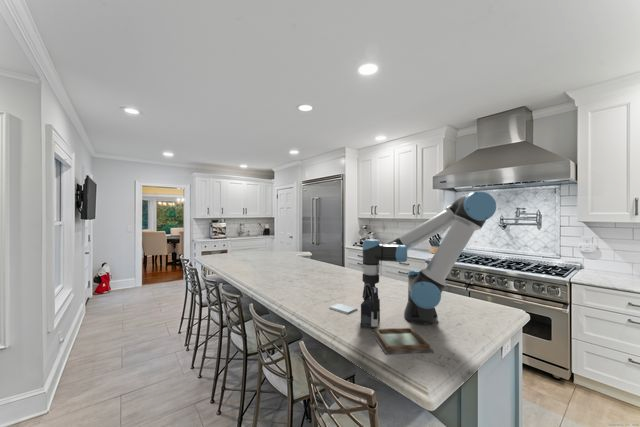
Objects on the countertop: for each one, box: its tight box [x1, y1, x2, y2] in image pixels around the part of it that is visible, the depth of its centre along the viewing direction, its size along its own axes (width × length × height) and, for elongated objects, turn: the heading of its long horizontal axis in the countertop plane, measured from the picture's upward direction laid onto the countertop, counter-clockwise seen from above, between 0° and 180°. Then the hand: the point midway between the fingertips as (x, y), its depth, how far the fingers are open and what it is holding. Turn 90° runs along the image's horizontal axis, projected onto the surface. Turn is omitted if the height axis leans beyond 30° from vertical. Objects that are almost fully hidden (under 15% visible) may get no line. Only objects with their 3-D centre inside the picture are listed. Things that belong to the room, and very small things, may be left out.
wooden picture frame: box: [370, 327, 435, 355], centre depth 109 cm, size 18×18×2 cm
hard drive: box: [328, 302, 358, 315], centre depth 145 cm, size 2×8×12 cm
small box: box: [360, 298, 381, 330], centre depth 126 cm, size 11×6×10 cm, turn 154°
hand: (370, 320), depth 126 cm, fingers open, 13 cm apart
